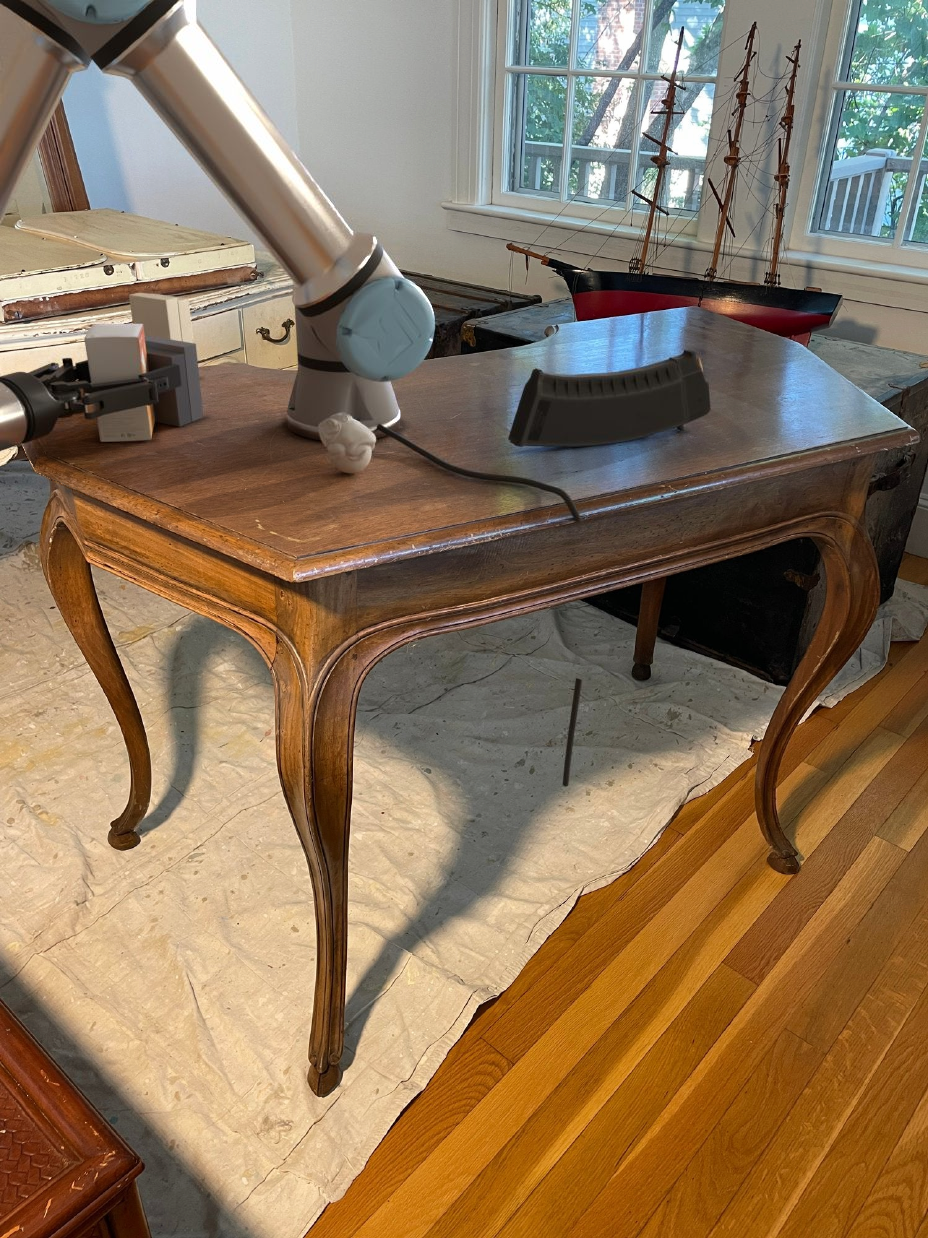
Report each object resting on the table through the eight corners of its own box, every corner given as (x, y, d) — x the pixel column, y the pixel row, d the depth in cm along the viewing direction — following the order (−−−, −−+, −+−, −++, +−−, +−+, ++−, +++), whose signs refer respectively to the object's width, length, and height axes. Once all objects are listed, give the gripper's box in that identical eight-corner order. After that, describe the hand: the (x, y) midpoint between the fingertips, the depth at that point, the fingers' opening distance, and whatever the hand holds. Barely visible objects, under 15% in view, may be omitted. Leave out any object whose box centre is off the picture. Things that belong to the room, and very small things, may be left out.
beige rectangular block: (197, 378, 143) (188, 294, 137) (176, 385, 139) (165, 300, 133) (162, 372, 145) (151, 289, 139) (140, 379, 141) (128, 294, 135)
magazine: (506, 388, 111) (704, 301, 118) (493, 381, 114) (688, 296, 121) (532, 508, 121) (713, 421, 129) (520, 499, 124) (698, 414, 131)
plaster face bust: (331, 459, 113) (329, 404, 110) (384, 467, 112) (384, 410, 108) (311, 476, 108) (308, 418, 105) (367, 484, 107) (366, 425, 103)
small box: (152, 441, 117) (138, 336, 110) (99, 442, 115) (82, 337, 109) (156, 421, 124) (143, 322, 117) (106, 423, 122) (91, 322, 116)
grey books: (203, 417, 126) (195, 343, 121) (179, 426, 122) (170, 350, 117) (158, 408, 129) (148, 335, 124) (133, 417, 125) (122, 342, 120)
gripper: (-57, 428, 108) (87, 384, 126) (86, 462, 100) (218, 410, 118) (-73, 364, 104) (77, 328, 122) (74, 394, 96) (212, 351, 114)
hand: (146, 369), depth 120 cm, fingers closed on small box, 10 cm apart
